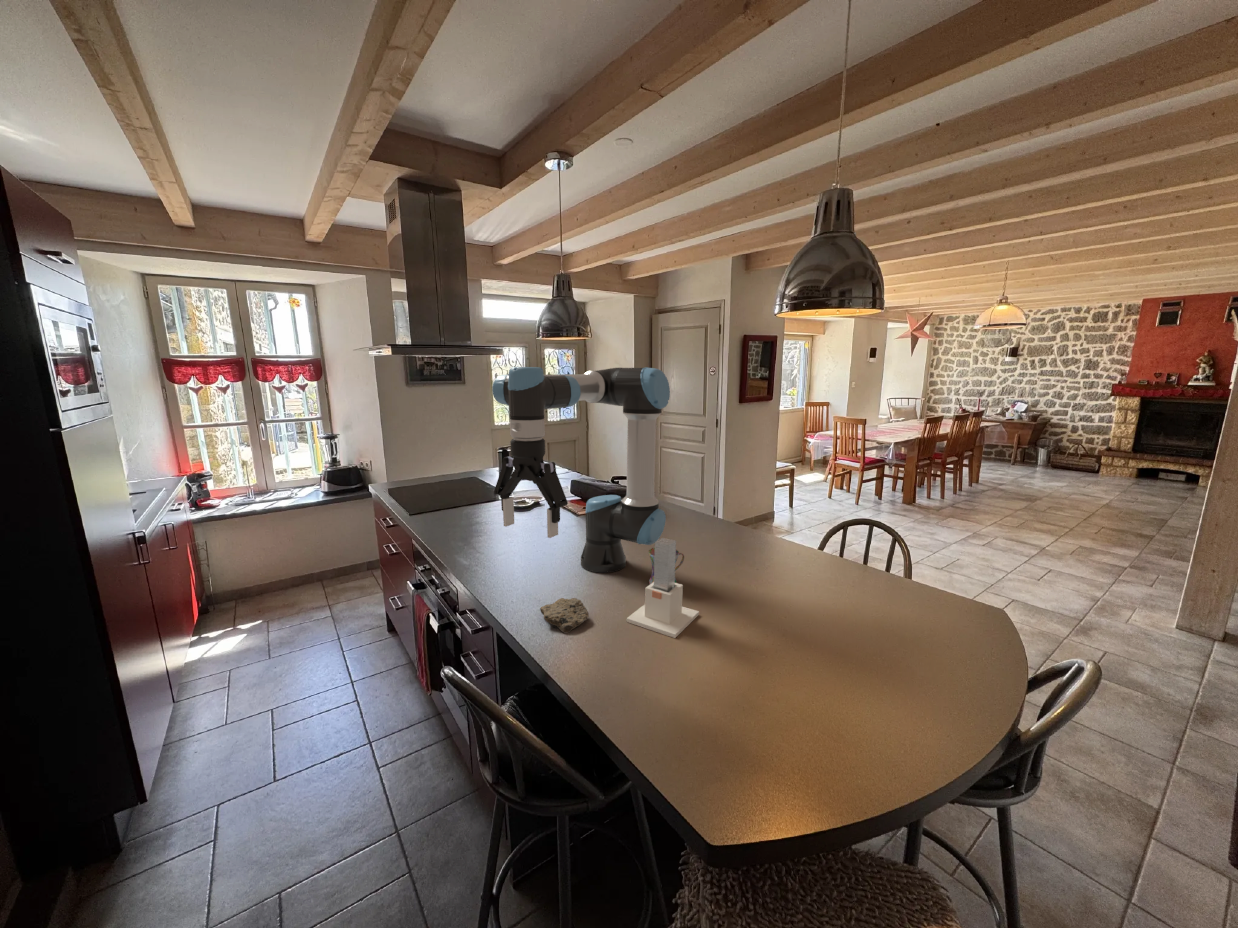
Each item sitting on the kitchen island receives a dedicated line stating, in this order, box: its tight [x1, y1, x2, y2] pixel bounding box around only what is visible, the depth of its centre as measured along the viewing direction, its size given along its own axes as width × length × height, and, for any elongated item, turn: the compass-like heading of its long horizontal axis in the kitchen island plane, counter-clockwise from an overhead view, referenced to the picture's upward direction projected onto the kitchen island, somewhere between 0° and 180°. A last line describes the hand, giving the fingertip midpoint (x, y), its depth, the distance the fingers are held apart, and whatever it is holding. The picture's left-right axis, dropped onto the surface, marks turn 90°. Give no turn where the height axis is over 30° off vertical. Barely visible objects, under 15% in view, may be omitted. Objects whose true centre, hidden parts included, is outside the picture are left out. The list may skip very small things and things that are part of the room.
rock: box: [539, 597, 590, 634], centre depth 127 cm, size 11×12×4 cm
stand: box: [626, 582, 700, 639], centre depth 128 cm, size 14×14×9 cm
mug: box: [647, 547, 685, 585], centre depth 149 cm, size 12×9×11 cm
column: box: [654, 537, 677, 593], centre depth 127 cm, size 4×4×20 cm
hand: (530, 530), depth 112 cm, fingers open, 13 cm apart
